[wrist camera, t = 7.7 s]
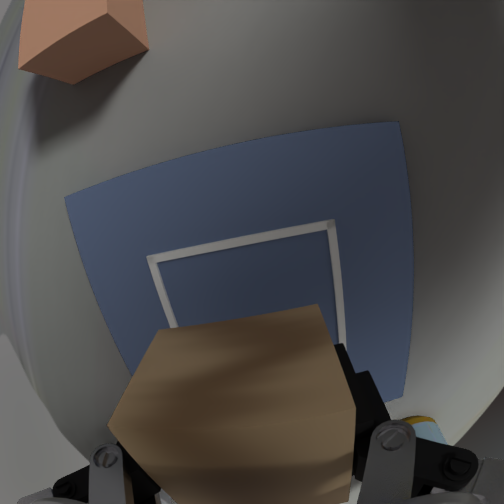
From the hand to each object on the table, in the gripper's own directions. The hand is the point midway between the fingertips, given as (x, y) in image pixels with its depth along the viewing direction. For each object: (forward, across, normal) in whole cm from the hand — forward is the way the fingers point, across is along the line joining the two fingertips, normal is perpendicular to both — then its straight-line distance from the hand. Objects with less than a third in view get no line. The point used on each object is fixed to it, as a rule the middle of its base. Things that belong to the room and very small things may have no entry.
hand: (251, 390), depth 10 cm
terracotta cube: (+6, +5, -18) cm, 20 cm away
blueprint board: (+6, 0, 0) cm, 6 cm away
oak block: (+1, 0, 0) cm, 1 cm away
